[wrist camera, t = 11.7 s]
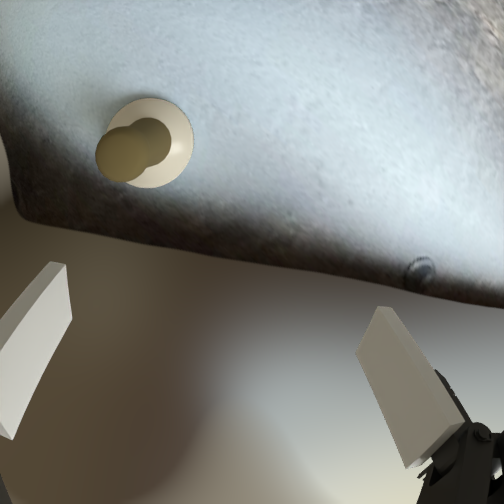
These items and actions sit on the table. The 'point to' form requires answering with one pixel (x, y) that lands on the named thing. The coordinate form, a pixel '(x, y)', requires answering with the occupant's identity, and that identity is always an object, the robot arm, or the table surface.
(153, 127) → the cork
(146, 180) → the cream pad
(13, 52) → the table surface
